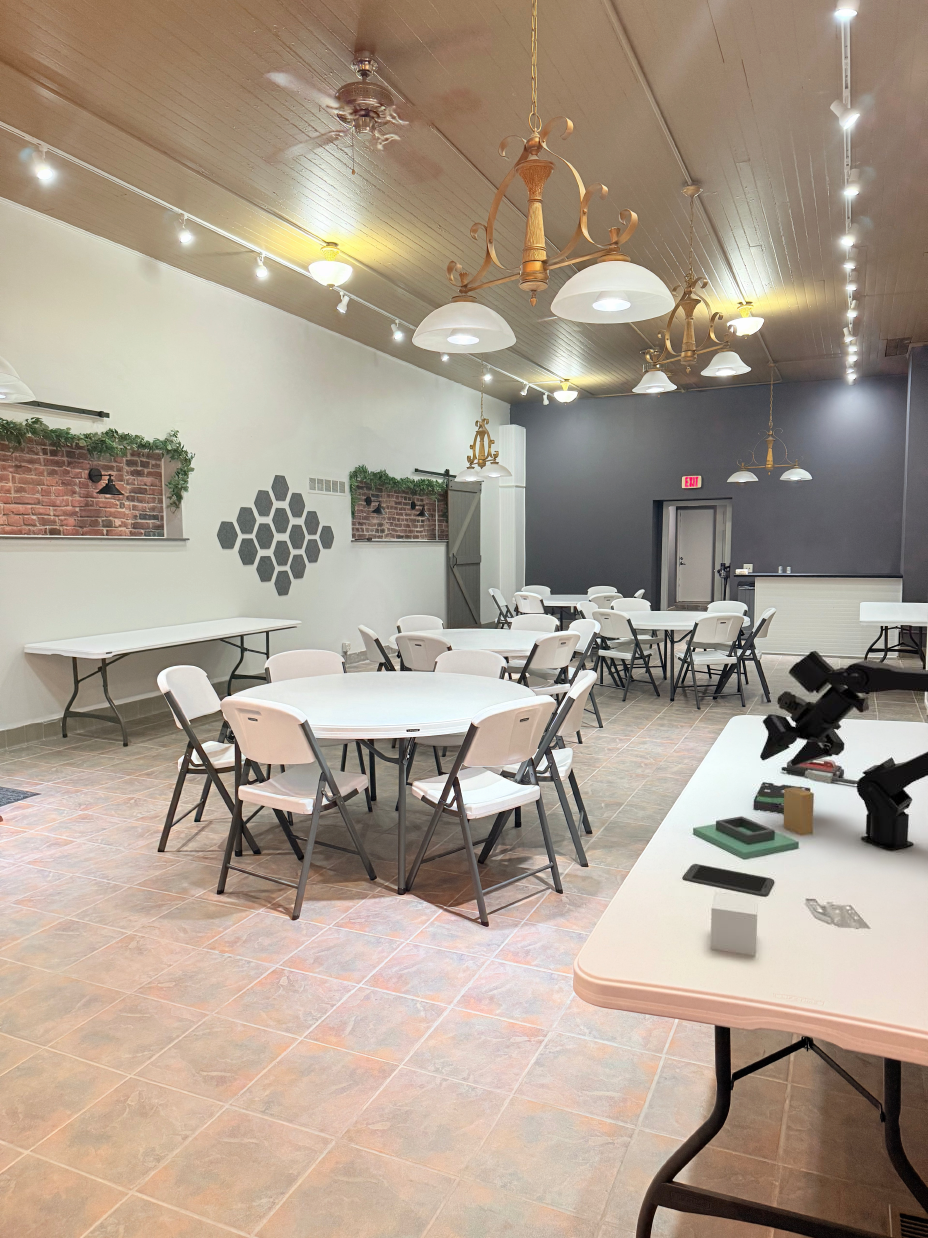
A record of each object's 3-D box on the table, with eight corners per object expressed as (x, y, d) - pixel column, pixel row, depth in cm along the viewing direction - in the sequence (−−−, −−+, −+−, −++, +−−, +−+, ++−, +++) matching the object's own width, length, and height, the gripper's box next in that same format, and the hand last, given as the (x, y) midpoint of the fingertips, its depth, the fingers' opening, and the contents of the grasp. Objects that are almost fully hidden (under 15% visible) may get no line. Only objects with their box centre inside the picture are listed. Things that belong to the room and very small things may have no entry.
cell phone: (692, 867, 144) (692, 863, 144) (775, 883, 137) (775, 879, 136) (680, 882, 137) (680, 877, 137) (767, 900, 130) (767, 895, 130)
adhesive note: (756, 937, 118) (758, 897, 117) (755, 956, 112) (757, 914, 111) (713, 930, 120) (714, 890, 119) (710, 949, 114) (711, 908, 114)
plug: (812, 833, 159) (813, 793, 158) (800, 835, 158) (802, 795, 157) (791, 824, 164) (792, 786, 163) (780, 827, 163) (781, 787, 162)
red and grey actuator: (777, 776, 199) (867, 791, 186) (778, 758, 198) (867, 772, 186) (789, 768, 206) (875, 782, 193) (789, 751, 205) (876, 764, 193)
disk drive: (761, 793, 186) (753, 812, 173) (761, 781, 186) (753, 799, 173) (810, 799, 181) (805, 819, 168) (810, 787, 181) (806, 806, 168)
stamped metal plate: (804, 907, 128) (805, 898, 128) (850, 908, 127) (850, 899, 127) (822, 930, 120) (822, 921, 120) (870, 932, 120) (871, 923, 119)
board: (798, 848, 151) (799, 832, 151) (744, 859, 146) (744, 843, 146) (744, 824, 164) (745, 810, 164) (693, 834, 159) (693, 819, 158)
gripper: (836, 689, 169) (787, 738, 177) (775, 673, 161) (726, 725, 169) (868, 729, 161) (815, 778, 169) (805, 715, 153) (752, 767, 161)
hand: (777, 761), depth 167 cm, fingers open, 9 cm apart
